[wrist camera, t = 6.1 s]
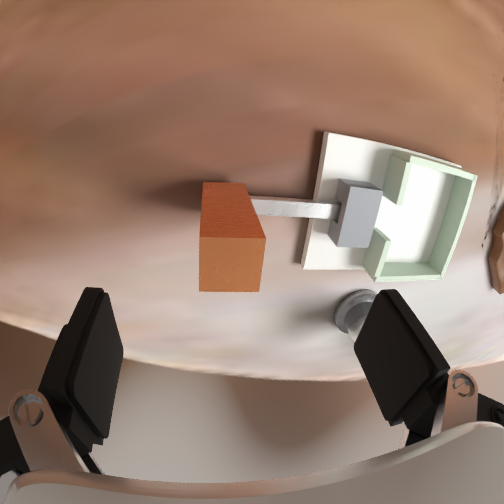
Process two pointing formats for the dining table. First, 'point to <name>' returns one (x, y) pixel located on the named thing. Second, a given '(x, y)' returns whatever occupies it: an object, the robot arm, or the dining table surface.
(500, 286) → the plant
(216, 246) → the pin
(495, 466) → the robot arm
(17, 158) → the dining table surface
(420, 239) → the dock
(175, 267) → the dining table surface
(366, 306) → the grey rounded piece
